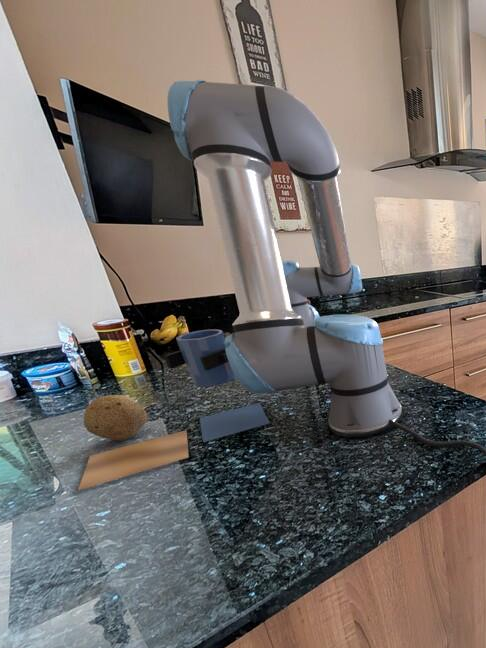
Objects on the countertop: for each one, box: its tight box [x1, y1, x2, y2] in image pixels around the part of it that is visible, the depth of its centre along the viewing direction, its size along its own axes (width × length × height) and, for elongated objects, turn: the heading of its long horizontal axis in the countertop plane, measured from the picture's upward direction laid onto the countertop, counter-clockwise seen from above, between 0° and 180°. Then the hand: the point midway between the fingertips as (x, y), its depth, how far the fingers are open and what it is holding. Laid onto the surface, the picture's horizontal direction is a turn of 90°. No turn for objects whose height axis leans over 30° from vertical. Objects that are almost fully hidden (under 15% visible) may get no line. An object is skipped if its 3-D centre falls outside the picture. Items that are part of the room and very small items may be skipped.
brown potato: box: [83, 394, 148, 442], centre depth 80 cm, size 9×9×10 cm
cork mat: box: [77, 429, 190, 491], centre depth 75 cm, size 14×15×1 cm
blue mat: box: [199, 402, 270, 443], centre depth 88 cm, size 14×12×1 cm
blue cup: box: [176, 329, 237, 388], centre depth 81 cm, size 8×8×10 cm
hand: (185, 363), depth 77 cm, fingers closed on blue cup, 8 cm apart
